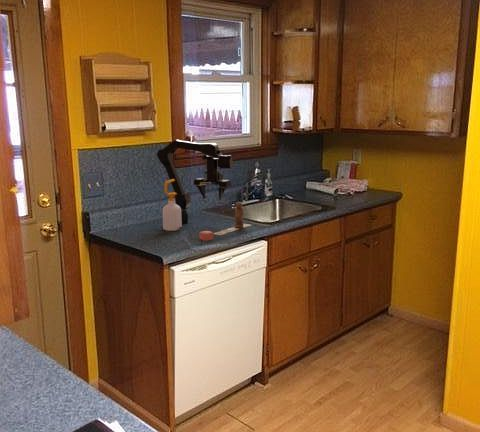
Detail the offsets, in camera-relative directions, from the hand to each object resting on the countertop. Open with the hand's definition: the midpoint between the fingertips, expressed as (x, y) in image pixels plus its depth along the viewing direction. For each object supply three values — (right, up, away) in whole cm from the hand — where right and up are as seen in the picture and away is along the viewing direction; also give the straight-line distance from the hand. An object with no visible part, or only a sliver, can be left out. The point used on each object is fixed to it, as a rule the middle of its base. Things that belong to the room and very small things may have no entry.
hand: (212, 199), depth 263 cm
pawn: (+13, -14, -8) cm, 21 cm away
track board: (+10, -16, -12) cm, 22 cm away
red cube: (-1, -20, -29) cm, 35 cm away
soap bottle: (-19, -15, -6) cm, 25 cm away
